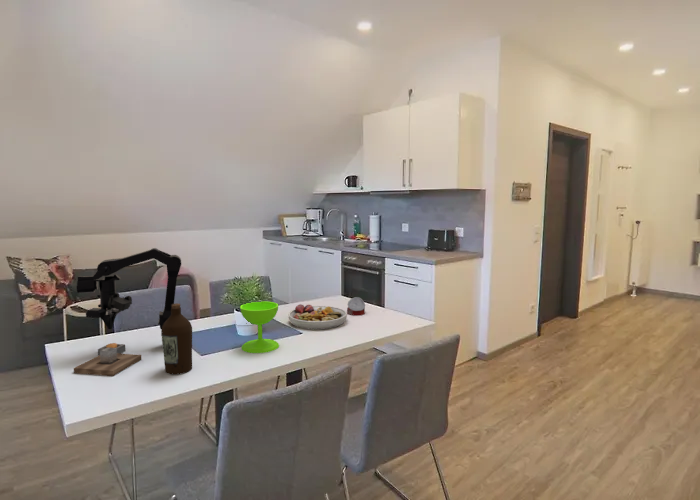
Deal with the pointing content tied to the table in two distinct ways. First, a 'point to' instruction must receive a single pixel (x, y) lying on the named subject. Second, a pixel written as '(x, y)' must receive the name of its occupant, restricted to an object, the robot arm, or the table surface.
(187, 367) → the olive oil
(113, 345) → the button
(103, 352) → the metal billet
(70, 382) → the table surface
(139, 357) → the walnut pallet
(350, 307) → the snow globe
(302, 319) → the bowl
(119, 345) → the button housing
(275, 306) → the wineglass
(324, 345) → the table surface
